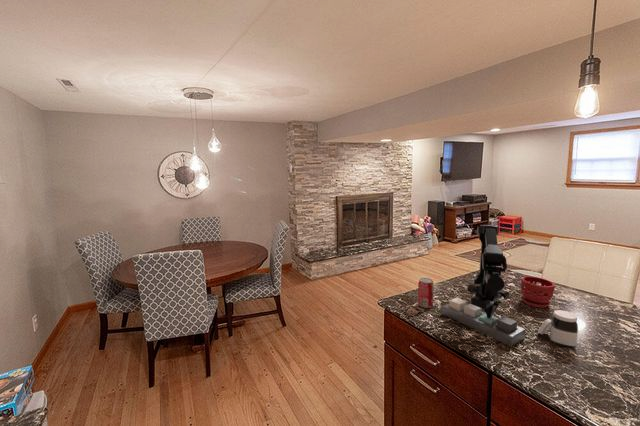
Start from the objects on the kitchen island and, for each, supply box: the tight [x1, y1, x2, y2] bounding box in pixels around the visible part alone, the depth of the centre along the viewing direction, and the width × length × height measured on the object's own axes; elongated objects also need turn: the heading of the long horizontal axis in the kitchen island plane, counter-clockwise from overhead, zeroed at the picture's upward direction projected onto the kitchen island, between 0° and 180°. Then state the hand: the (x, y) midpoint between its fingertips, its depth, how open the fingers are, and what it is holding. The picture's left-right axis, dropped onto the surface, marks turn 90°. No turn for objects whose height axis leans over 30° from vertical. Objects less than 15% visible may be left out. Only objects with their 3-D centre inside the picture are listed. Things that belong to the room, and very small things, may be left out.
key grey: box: [464, 303, 483, 318], centre depth 128 cm, size 5×5×4 cm
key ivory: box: [449, 297, 468, 311], centre depth 134 cm, size 5×5×4 cm
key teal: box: [479, 314, 499, 325], centre depth 123 cm, size 5×5×4 cm
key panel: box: [441, 302, 526, 348], centre depth 126 cm, size 10×30×4 cm, turn 32°
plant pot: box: [520, 276, 556, 309], centre depth 145 cm, size 13×13×12 cm
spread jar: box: [537, 309, 579, 349], centre depth 114 cm, size 12×11×12 cm
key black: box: [497, 315, 518, 333], centre depth 117 cm, size 5×5×4 cm
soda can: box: [417, 277, 435, 309], centre depth 144 cm, size 7×7×13 cm
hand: (488, 317), depth 123 cm, fingers closed, pressing on key teal
